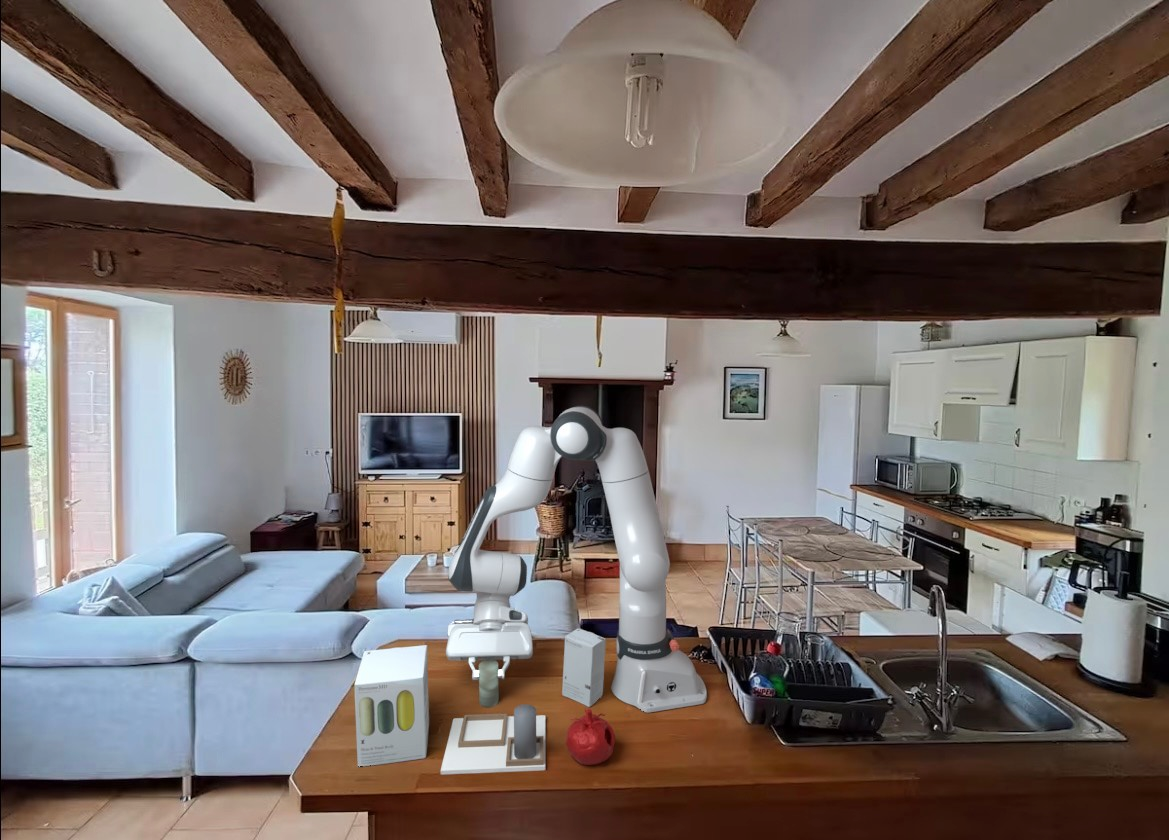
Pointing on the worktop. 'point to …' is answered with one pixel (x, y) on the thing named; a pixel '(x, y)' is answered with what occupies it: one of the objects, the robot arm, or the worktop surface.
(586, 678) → the skincare box
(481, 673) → the sage pin
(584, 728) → the pomegranate
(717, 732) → the worktop surface
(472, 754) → the board
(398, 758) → the supplement box
